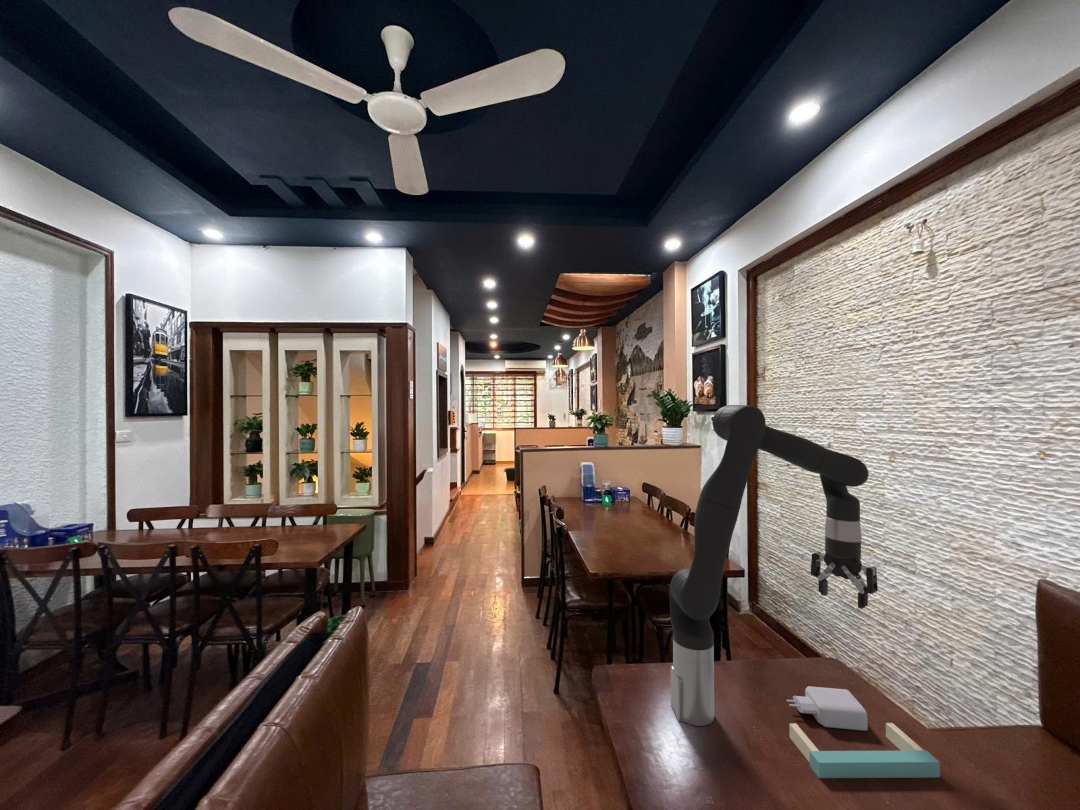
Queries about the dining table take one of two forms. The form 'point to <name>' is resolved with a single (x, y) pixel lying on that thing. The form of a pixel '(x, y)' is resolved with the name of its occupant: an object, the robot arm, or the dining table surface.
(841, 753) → the stop bay
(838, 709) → the charger
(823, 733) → the dining table surface
